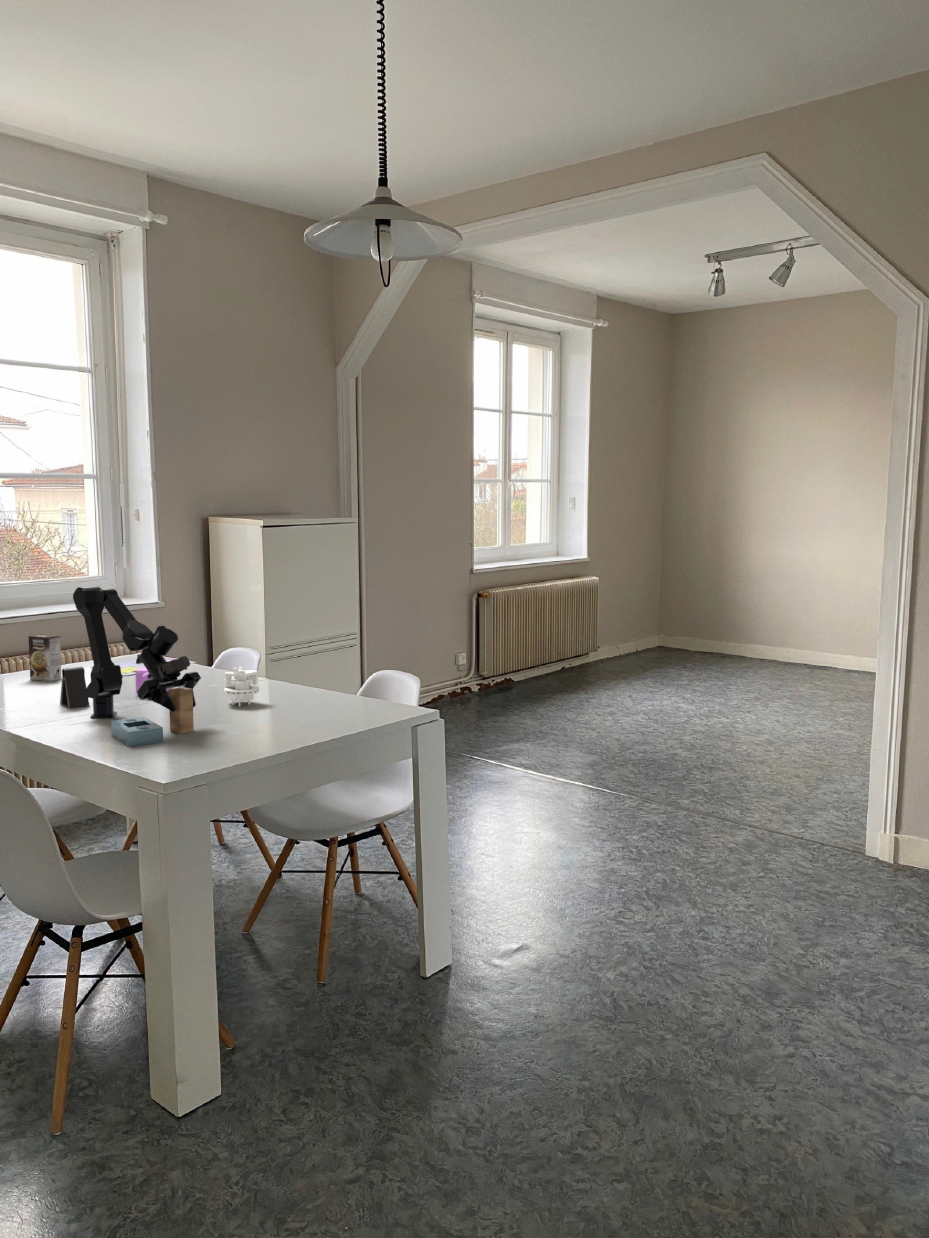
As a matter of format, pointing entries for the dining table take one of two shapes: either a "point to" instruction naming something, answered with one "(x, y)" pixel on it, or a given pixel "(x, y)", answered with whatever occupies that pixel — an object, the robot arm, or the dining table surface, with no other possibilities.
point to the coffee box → (45, 657)
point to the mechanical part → (241, 684)
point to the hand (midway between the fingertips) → (184, 708)
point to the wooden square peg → (181, 710)
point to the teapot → (142, 677)
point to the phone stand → (73, 688)
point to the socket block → (137, 731)
